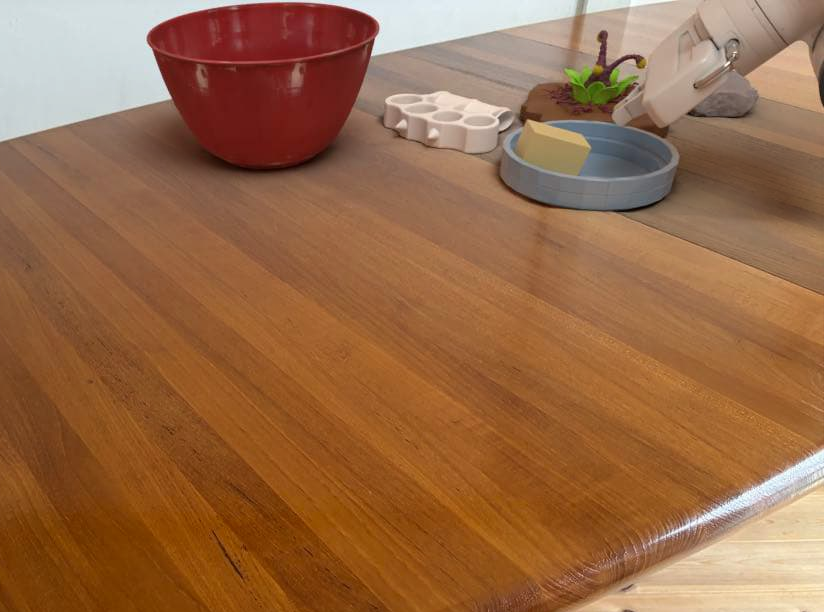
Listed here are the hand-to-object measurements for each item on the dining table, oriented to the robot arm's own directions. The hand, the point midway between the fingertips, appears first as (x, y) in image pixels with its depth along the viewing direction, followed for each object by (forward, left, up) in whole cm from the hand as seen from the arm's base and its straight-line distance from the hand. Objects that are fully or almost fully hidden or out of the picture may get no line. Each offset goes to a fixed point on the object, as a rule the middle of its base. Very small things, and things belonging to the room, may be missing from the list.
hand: (615, 118), depth 93 cm
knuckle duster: (+19, -15, -8) cm, 26 cm away
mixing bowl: (+42, -5, -8) cm, 43 cm away
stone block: (-19, -31, -8) cm, 37 cm away
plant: (-1, -23, -8) cm, 25 cm away
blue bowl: (+2, 0, -8) cm, 8 cm away
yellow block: (+3, 0, -5) cm, 6 cm away
